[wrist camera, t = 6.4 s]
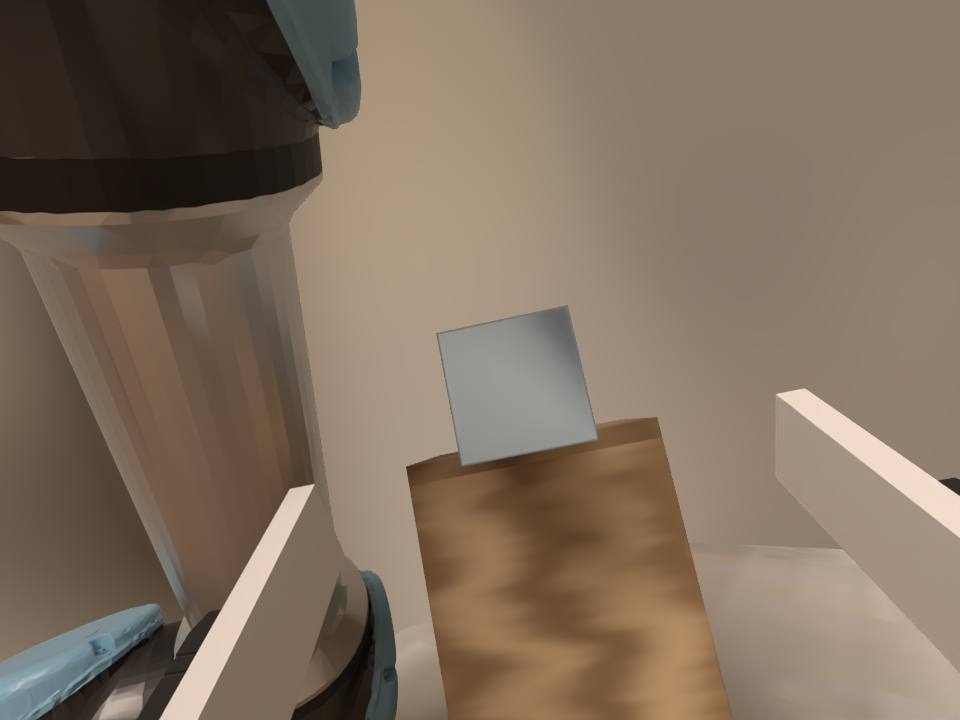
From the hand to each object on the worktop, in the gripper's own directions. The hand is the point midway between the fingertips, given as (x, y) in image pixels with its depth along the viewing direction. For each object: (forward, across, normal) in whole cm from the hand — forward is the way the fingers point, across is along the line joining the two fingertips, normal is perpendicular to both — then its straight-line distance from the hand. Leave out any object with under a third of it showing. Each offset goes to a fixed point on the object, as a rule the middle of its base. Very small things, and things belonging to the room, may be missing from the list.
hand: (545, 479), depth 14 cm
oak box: (-1, 0, -33) cm, 33 cm away
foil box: (+12, 0, -6) cm, 14 cm away
